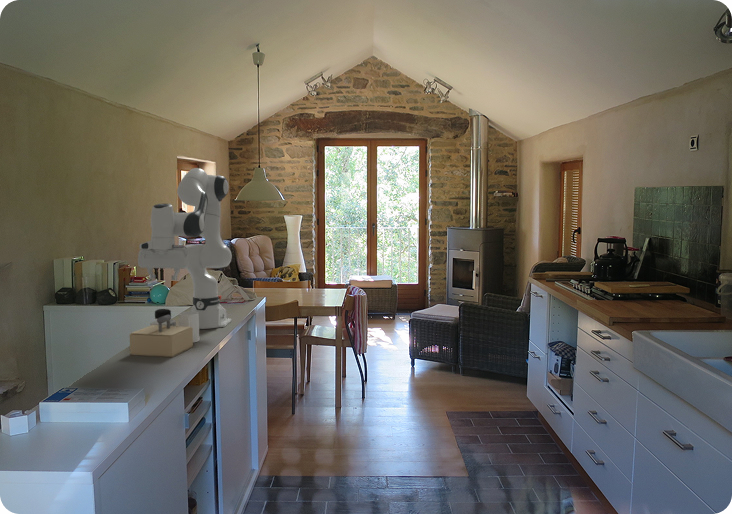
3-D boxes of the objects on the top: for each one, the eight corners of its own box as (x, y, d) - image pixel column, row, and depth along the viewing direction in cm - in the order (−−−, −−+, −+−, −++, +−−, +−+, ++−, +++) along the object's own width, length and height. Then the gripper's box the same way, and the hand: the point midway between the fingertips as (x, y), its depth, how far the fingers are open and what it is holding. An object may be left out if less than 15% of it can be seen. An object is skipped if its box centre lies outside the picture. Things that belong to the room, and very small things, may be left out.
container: (167, 341, 246) (166, 311, 245) (150, 340, 247) (149, 310, 246) (176, 337, 253) (175, 308, 252) (160, 336, 255) (159, 307, 254)
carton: (153, 344, 241) (152, 324, 240) (192, 346, 237) (192, 326, 236) (130, 354, 225) (129, 332, 224) (172, 357, 221) (172, 335, 221)
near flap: (171, 326, 238) (171, 312, 237) (191, 327, 236) (190, 313, 235) (151, 334, 223) (150, 319, 222) (171, 336, 221) (171, 320, 221)
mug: (198, 344, 241) (197, 316, 240) (176, 345, 239) (175, 316, 238) (200, 338, 253) (200, 310, 251) (180, 338, 251) (179, 311, 250)
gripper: (191, 244, 229) (191, 279, 230) (144, 244, 233) (145, 278, 234) (183, 245, 223) (183, 281, 224) (135, 244, 227) (136, 279, 228)
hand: (163, 279), depth 229 cm, fingers open, 8 cm apart
